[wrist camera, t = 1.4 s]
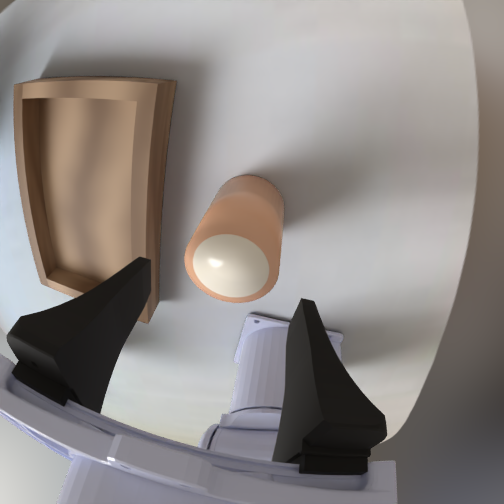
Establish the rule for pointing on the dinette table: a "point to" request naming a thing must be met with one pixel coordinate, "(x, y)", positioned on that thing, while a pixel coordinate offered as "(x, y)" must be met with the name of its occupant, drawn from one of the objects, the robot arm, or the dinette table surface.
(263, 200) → the tan and white cylinder
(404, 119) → the dinette table surface
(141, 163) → the tray
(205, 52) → the dinette table surface
